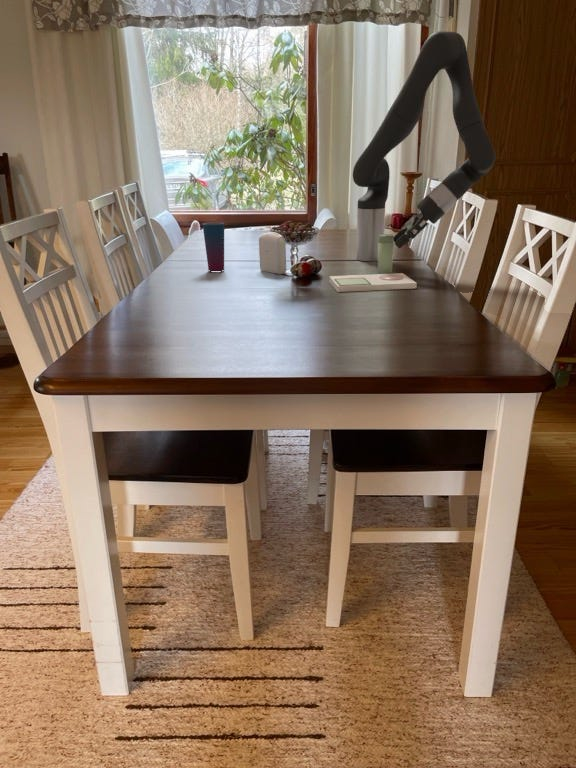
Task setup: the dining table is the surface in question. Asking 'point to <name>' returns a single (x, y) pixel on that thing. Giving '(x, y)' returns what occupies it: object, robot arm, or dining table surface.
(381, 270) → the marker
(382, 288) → the picture board
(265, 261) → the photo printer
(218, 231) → the cup
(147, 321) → the dining table surface
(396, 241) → the robot arm
